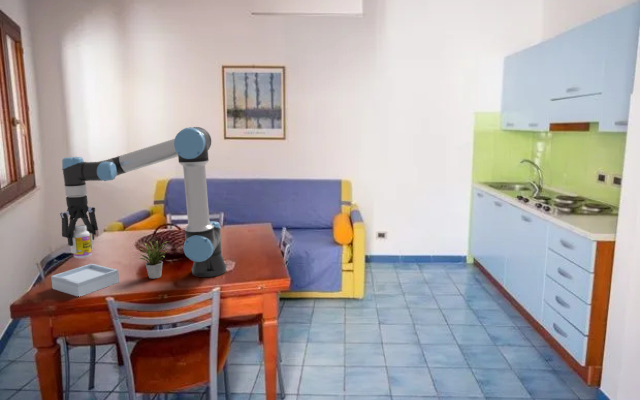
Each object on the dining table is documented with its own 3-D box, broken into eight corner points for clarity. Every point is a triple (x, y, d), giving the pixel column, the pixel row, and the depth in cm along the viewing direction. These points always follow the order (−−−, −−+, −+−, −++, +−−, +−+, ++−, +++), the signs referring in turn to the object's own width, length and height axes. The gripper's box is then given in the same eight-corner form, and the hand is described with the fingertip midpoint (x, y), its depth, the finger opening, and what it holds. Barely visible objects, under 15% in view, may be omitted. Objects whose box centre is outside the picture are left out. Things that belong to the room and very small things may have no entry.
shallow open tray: (119, 282, 194) (118, 269, 193) (79, 296, 178) (77, 283, 177) (92, 275, 202) (91, 263, 201) (52, 288, 187) (50, 276, 186)
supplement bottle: (84, 259, 184) (81, 228, 182) (70, 258, 185) (66, 227, 183) (95, 254, 190) (92, 224, 188) (81, 253, 192) (78, 223, 189)
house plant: (181, 272, 205) (178, 237, 202) (164, 283, 192) (161, 245, 189) (152, 269, 208) (150, 235, 205) (134, 280, 195) (131, 243, 192)
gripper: (92, 191, 193) (98, 243, 198) (46, 198, 177) (53, 255, 181) (104, 192, 190) (109, 245, 194) (57, 200, 173) (64, 258, 177)
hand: (82, 250), depth 187 cm, fingers closed on supplement bottle, 7 cm apart
